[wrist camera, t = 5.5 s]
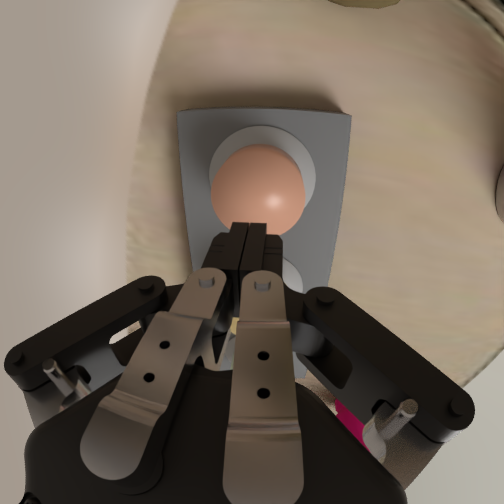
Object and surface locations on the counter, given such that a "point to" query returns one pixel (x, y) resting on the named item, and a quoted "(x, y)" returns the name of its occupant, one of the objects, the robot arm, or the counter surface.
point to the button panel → (312, 170)
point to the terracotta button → (259, 188)
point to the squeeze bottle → (365, 3)
